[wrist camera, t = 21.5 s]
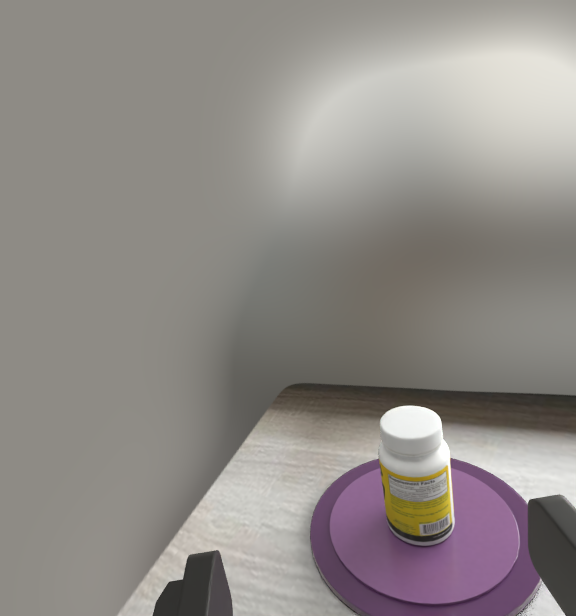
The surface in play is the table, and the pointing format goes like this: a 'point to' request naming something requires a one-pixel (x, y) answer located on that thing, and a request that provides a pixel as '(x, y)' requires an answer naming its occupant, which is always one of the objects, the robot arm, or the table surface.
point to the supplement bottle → (416, 476)
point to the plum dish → (425, 550)
